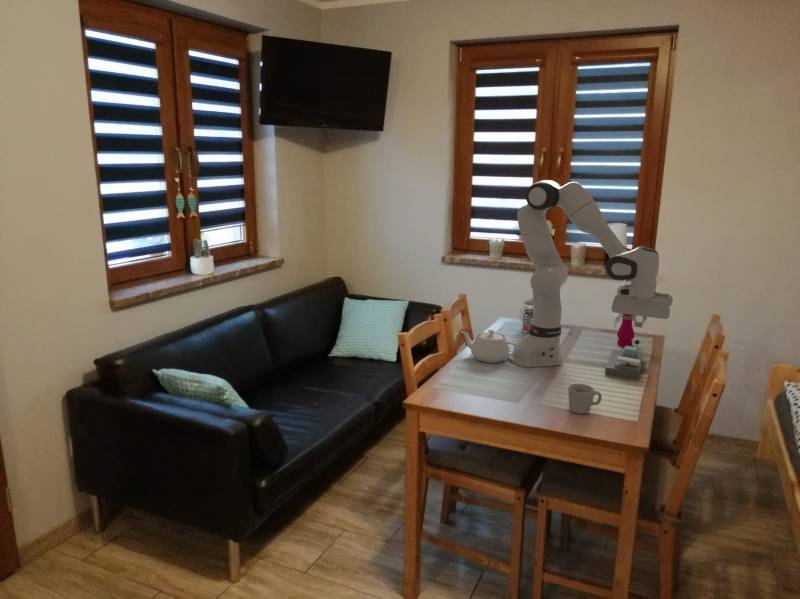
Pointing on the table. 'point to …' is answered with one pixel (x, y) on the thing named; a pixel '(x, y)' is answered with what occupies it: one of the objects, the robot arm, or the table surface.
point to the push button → (630, 350)
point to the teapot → (490, 347)
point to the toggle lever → (636, 343)
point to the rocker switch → (628, 360)
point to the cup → (582, 398)
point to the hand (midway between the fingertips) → (638, 326)
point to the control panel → (623, 366)
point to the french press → (527, 312)
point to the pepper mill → (625, 331)
